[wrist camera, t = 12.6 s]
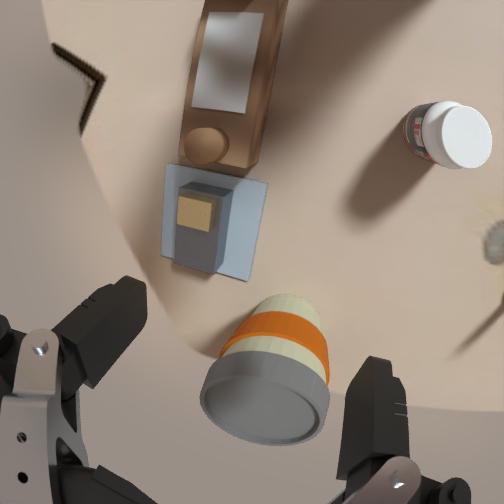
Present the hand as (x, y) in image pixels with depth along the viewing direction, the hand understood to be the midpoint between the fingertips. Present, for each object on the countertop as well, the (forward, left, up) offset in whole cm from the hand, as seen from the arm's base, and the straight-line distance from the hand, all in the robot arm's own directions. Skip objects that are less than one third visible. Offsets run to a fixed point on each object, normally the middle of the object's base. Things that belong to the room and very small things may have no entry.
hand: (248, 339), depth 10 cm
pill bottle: (-10, +11, -23) cm, 27 cm away
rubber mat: (+6, -10, -23) cm, 26 cm away
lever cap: (+6, -10, -23) cm, 26 cm away
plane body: (-12, -9, -23) cm, 27 cm away
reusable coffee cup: (+17, +2, -23) cm, 29 cm away
